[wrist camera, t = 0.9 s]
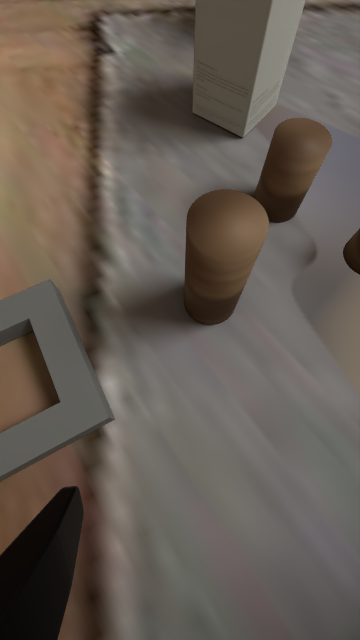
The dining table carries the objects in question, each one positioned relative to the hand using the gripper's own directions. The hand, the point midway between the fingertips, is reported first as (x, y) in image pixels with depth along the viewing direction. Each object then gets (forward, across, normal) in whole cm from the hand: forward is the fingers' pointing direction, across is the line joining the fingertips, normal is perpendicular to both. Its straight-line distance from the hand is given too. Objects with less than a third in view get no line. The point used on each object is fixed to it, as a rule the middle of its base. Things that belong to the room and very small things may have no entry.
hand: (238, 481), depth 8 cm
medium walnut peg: (+24, -10, -9) cm, 27 cm away
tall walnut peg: (+18, -2, -1) cm, 18 cm away
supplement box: (+33, -8, -20) cm, 39 cm away
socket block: (+14, +14, +4) cm, 20 cm away
